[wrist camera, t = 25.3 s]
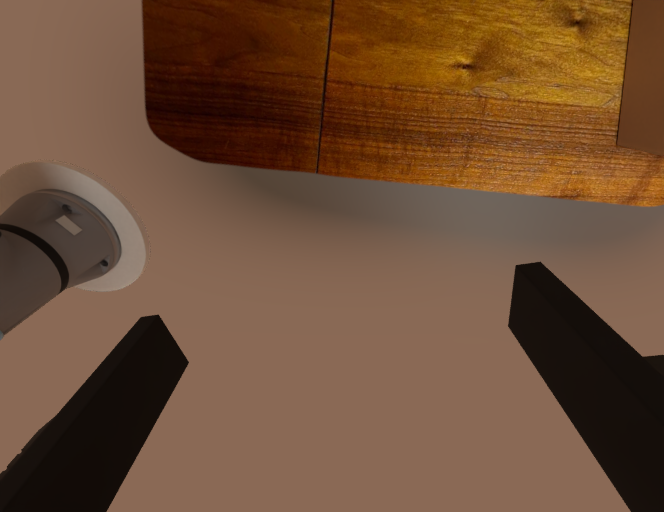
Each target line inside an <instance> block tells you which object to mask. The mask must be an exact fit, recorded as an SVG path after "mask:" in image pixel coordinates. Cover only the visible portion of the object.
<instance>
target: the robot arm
mask: <svg viewBox="0 0 664 512" xmlns="http://www.w3.org/2000/svg"><path fill="white" fill-rule="evenodd" d="M120 257H121V242H120V239H119V236H118V233H117V231H116V230H115V228H114V226H113V225H112V223H111V222H110V221H109V219H108V218H107V217H106V216H105V215H104V214H103V213H102V212H101V211H100V210H99V209H98V208H97V207H95V206H94V205H93V204H91V203H90V202H88V201H87V200H85V199H83V198H81V197H79V196H77V195H75V194H72V193H70V192H67V191H63V190H58V189H42V190H38V191H35V192H32V193H29V194H26V195H24V196H22V197H20V198H19V199H18V200H17V201H15V202H14V203H13V204H12V205H11V206H10V207H9V208H8V209H7V210H6V211H5V212H4V213H3V214H1V215H0V340H1V339H2V338H3V336H4V335H5V334H7V333H8V332H9V331H11V330H12V329H13V328H15V327H16V326H17V325H18V324H20V323H21V322H22V321H24V320H25V319H27V318H28V317H29V316H30V315H32V314H33V313H34V312H36V311H37V310H38V309H40V308H41V307H42V306H44V305H45V304H46V303H48V302H49V301H50V300H51V299H53V298H54V297H56V295H58V294H59V293H61V292H62V291H63V290H65V289H67V288H70V287H73V286H76V285H79V284H82V283H85V282H88V281H91V280H93V279H96V278H99V277H101V276H103V275H105V274H106V273H108V272H109V271H110V270H111V269H113V268H114V267H115V266H116V265H117V263H118V262H119V260H120ZM508 327H509V328H510V329H511V331H512V333H513V334H514V335H515V337H516V339H517V340H518V342H519V343H520V345H521V346H522V348H523V349H524V350H525V352H526V354H527V355H528V357H529V358H530V360H531V361H532V363H533V365H534V366H535V367H536V369H537V371H538V372H539V373H540V375H541V376H542V378H543V379H544V381H545V383H546V384H547V386H548V387H549V389H550V390H551V392H552V393H553V395H554V396H555V398H556V399H557V401H558V402H559V404H560V405H561V407H562V408H563V410H564V411H565V413H566V414H567V416H568V417H569V419H570V420H571V422H572V423H573V425H574V426H575V428H576V429H577V431H578V432H579V434H580V435H581V437H582V438H583V440H584V441H585V443H586V444H587V446H588V448H589V449H590V451H591V452H592V454H593V455H594V457H595V458H596V460H597V461H598V463H599V464H600V465H601V467H602V469H603V470H604V472H605V473H606V475H607V476H608V478H609V479H610V481H611V482H612V484H613V485H614V487H615V488H616V490H617V491H618V493H619V494H620V496H621V497H622V499H623V500H624V502H625V503H626V505H627V506H628V508H629V509H630V511H631V512H664V355H658V356H647V357H642V356H641V355H640V354H639V353H638V352H637V351H636V350H635V349H634V348H633V347H631V346H630V345H629V344H628V343H627V342H626V341H625V340H624V339H623V338H622V337H621V336H620V335H619V334H617V333H616V332H615V331H614V330H613V329H612V328H611V327H610V326H609V325H608V324H607V323H606V322H604V321H603V320H602V319H601V318H600V317H599V316H598V315H597V314H596V313H595V312H594V311H593V310H592V309H590V308H589V307H588V306H587V305H586V304H585V303H584V302H583V301H582V300H581V299H580V298H579V297H578V296H577V295H576V294H574V293H573V292H572V291H571V290H570V289H569V288H568V287H567V286H566V285H565V284H564V283H562V281H560V280H559V279H558V278H557V277H556V276H555V275H554V274H553V273H552V272H551V271H550V270H549V269H548V268H546V267H545V266H544V265H543V264H542V263H541V262H536V263H529V264H521V265H516V268H515V275H514V283H513V291H512V299H511V307H510V316H509V324H508ZM188 363H189V362H188V360H187V359H186V357H185V355H184V354H183V352H182V351H181V349H180V348H179V346H178V345H177V343H176V341H175V340H174V338H173V337H172V335H171V334H170V332H169V330H168V329H167V327H166V326H165V324H164V323H163V321H162V320H161V318H160V316H159V315H153V316H146V317H141V318H140V319H139V320H138V321H137V322H136V324H135V325H134V326H133V327H132V328H131V329H130V330H129V332H128V333H127V334H126V335H125V336H124V338H123V339H122V340H121V341H120V342H119V343H118V344H117V346H116V347H115V348H114V349H113V350H112V351H111V353H110V354H109V355H108V356H107V357H106V358H105V360H104V361H103V362H102V363H101V364H100V365H99V366H98V368H97V369H96V370H95V371H94V372H93V373H92V375H91V376H90V377H89V378H88V379H87V380H86V382H85V383H84V384H83V385H82V386H81V387H80V389H79V390H78V391H77V392H76V393H75V394H74V395H73V397H72V398H71V399H70V400H69V401H68V402H67V404H66V405H65V406H64V407H63V408H62V409H61V411H60V412H59V413H58V414H57V415H56V416H55V417H54V418H53V419H51V420H50V421H49V422H48V423H47V424H46V425H44V426H43V427H42V428H41V429H40V430H38V432H37V433H36V434H35V435H34V436H33V437H32V438H31V440H30V441H29V442H28V443H27V444H26V445H25V446H24V448H23V449H22V452H21V453H20V454H17V456H16V457H15V458H14V459H13V460H12V461H11V462H10V464H9V465H8V466H7V469H6V470H5V471H3V472H2V473H1V474H0V512H106V511H107V510H108V508H109V506H110V504H111V503H112V501H113V499H114V497H115V495H116V493H117V492H118V490H119V488H120V486H121V484H122V483H123V481H124V479H125V477H126V475H127V474H128V472H129V470H130V468H131V466H132V465H133V463H134V461H135V459H136V457H137V455H138V454H139V452H140V450H141V448H142V447H143V445H144V443H145V441H146V439H147V437H148V435H149V434H150V432H151V430H152V428H153V427H154V425H155V423H156V421H157V419H158V418H159V416H160V414H161V412H162V410H163V409H164V407H165V405H166V403H167V401H168V399H169V398H170V396H171V394H172V392H173V391H174V389H175V387H176V385H177V383H178V381H179V380H180V378H181V376H182V374H183V372H184V371H185V369H186V367H187V365H188Z"/></svg>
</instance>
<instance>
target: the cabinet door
mask: <svg viewBox="0 0 664 512" xmlns="http://www.w3.org/2000/svg"><path fill="white" fill-rule="evenodd" d="M617 145H619V146H624V147H628V148H632V149H636V150H640V151H645V152H649V153H653V154H657V155H661V156H664V0H633V8H632V17H631V26H630V35H629V44H628V52H627V61H626V70H625V79H624V88H623V96H622V105H621V114H620V123H619V132H618V141H617Z"/></svg>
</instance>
